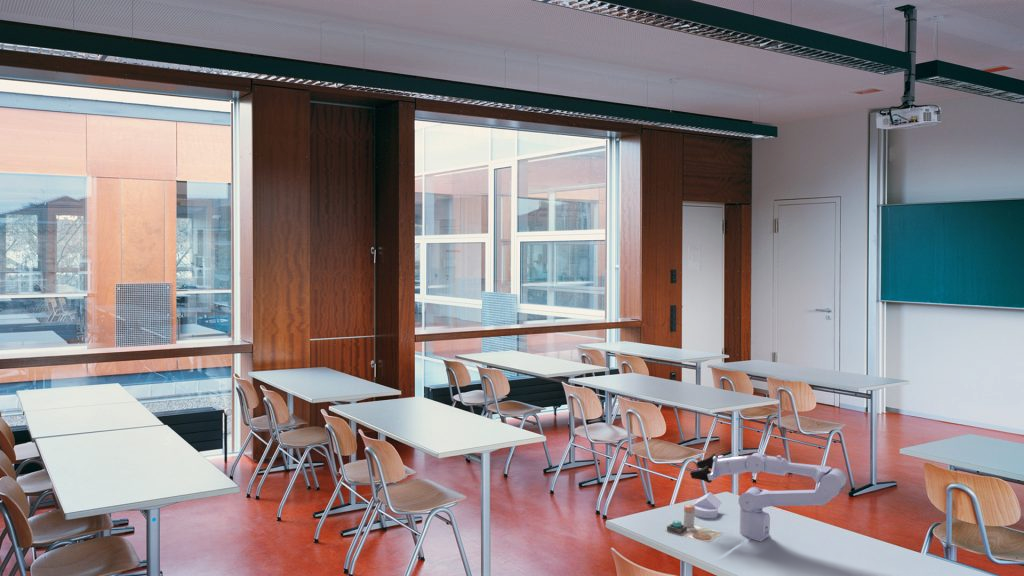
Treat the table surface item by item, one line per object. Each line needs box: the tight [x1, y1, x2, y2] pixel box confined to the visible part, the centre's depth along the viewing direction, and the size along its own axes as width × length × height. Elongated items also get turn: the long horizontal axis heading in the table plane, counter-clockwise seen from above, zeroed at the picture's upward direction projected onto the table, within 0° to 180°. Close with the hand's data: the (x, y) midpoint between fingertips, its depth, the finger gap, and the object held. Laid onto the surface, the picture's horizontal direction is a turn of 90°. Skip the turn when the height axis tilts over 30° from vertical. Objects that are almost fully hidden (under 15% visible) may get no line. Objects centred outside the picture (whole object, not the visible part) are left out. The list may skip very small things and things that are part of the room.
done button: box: [672, 520, 683, 529], centre depth 273 cm, size 3×3×2 cm
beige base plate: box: [665, 521, 724, 543], centre depth 273 cm, size 18×14×2 cm
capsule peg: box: [683, 504, 696, 528], centre depth 278 cm, size 4×4×7 cm
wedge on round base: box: [693, 491, 723, 519], centre depth 293 cm, size 9×7×13 cm
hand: (694, 470), depth 283 cm, fingers open, 7 cm apart
